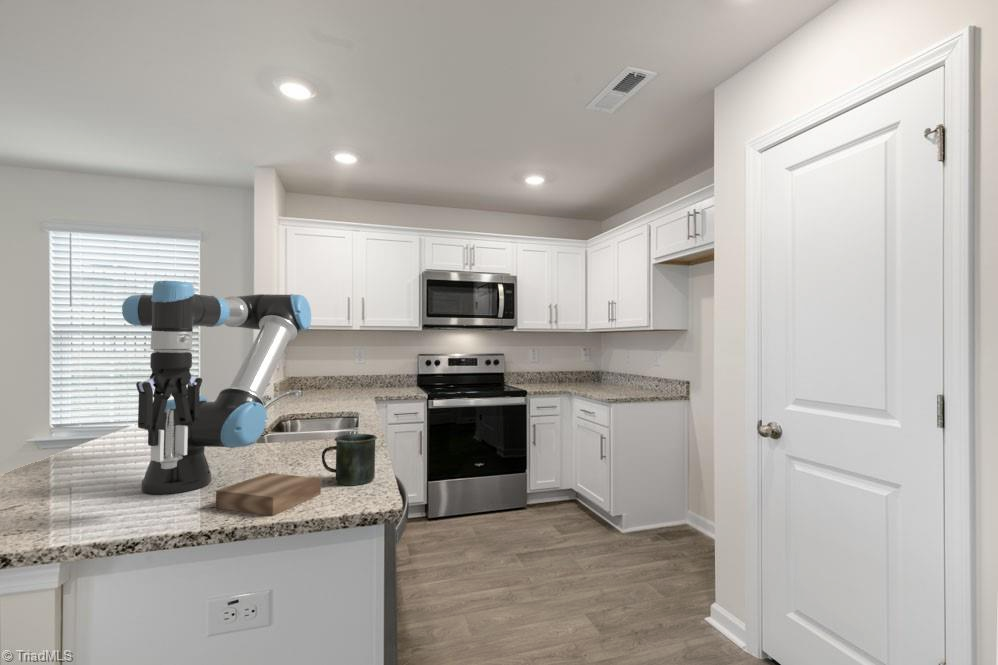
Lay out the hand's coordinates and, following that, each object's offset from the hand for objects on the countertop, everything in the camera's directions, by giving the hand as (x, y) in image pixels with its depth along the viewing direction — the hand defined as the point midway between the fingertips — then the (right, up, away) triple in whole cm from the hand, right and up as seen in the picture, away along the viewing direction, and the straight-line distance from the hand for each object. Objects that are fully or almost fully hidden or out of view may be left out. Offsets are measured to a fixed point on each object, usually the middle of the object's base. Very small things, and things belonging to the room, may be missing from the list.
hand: (169, 457), depth 102 cm
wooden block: (+18, -13, +10) cm, 24 cm away
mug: (+31, -14, +26) cm, 43 cm away
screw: (0, -2, 0) cm, 2 cm away
